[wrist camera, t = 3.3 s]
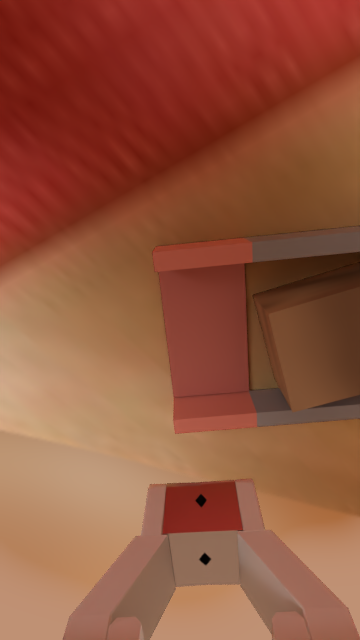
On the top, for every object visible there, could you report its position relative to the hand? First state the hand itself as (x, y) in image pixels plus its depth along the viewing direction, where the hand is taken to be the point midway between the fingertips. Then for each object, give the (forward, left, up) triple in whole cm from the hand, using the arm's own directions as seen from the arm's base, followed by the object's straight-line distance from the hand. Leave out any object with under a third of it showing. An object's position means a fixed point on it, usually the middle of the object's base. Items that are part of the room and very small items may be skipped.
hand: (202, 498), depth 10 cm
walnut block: (+9, +1, -12) cm, 15 cm away
